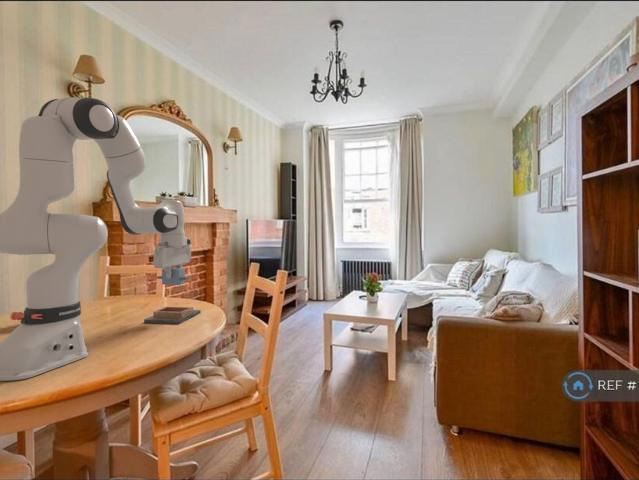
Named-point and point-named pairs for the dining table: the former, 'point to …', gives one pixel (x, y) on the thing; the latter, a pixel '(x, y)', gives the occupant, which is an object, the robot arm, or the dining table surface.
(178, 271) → the block
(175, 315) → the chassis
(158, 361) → the dining table surface
